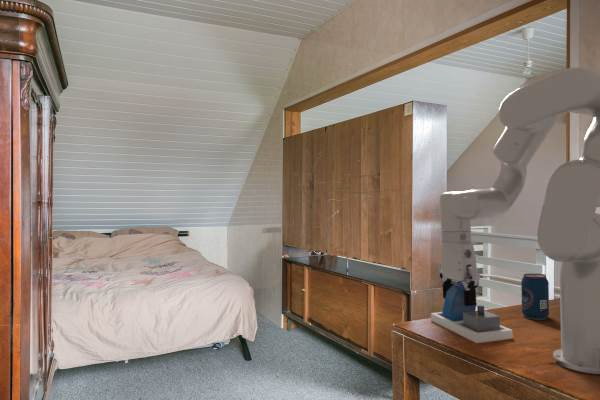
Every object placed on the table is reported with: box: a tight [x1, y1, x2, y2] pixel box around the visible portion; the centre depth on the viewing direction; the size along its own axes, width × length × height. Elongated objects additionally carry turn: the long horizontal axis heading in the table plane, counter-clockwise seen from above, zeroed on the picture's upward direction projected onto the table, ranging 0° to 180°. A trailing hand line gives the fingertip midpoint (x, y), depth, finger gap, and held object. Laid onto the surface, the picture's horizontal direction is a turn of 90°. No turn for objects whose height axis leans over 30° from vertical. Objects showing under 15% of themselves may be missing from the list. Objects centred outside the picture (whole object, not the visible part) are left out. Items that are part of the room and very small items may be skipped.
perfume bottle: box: [441, 281, 478, 321], centre depth 121 cm, size 6×6×12 cm
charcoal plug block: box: [463, 305, 501, 333], centre depth 112 cm, size 6×6×7 cm
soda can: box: [520, 273, 550, 321], centre depth 130 cm, size 7×7×12 cm
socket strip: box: [430, 311, 514, 344], centre depth 117 cm, size 20×10×3 cm, turn 15°
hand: (459, 301), depth 122 cm, fingers open, 9 cm apart
